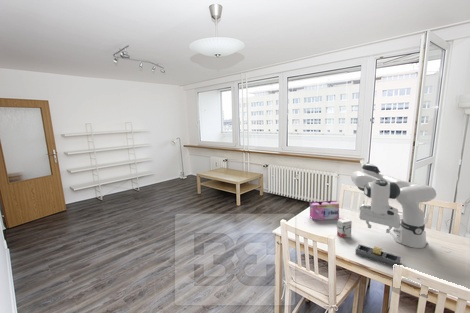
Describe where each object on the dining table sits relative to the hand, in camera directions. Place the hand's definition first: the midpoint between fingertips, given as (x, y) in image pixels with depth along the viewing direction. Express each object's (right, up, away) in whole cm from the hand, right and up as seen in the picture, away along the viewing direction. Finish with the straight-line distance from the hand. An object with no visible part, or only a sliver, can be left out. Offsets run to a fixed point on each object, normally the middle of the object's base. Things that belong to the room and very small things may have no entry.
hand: (378, 230), depth 131 cm
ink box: (-5, -14, +31) cm, 34 cm away
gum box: (-8, -10, +61) cm, 62 cm away
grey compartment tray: (+1, -18, +3) cm, 18 cm away
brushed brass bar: (+1, -18, +3) cm, 18 cm away
